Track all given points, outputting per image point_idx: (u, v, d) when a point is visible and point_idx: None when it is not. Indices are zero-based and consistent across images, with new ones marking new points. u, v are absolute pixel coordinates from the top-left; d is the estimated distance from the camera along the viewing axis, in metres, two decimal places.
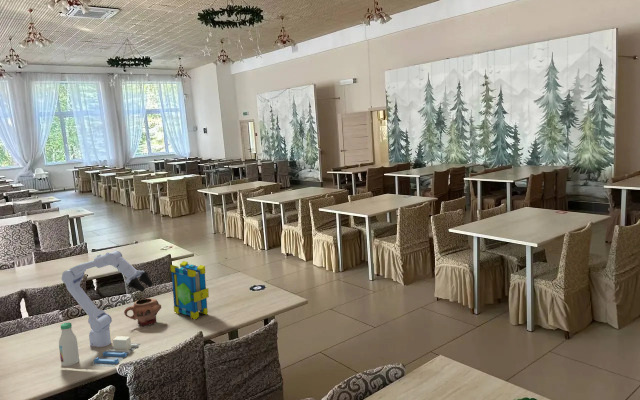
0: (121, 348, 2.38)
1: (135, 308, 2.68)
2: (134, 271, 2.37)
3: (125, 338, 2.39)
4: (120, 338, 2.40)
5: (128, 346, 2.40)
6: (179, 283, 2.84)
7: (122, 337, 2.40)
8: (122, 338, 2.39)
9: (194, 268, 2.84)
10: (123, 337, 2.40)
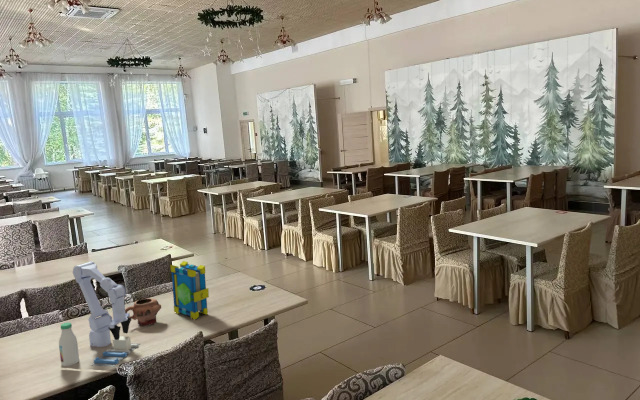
0: (121, 348, 2.38)
1: (135, 308, 2.68)
2: (123, 318, 2.37)
3: (125, 338, 2.39)
4: (120, 338, 2.40)
5: (128, 346, 2.40)
6: (179, 283, 2.84)
7: (122, 337, 2.40)
8: (122, 338, 2.39)
9: (194, 268, 2.84)
10: (123, 337, 2.40)
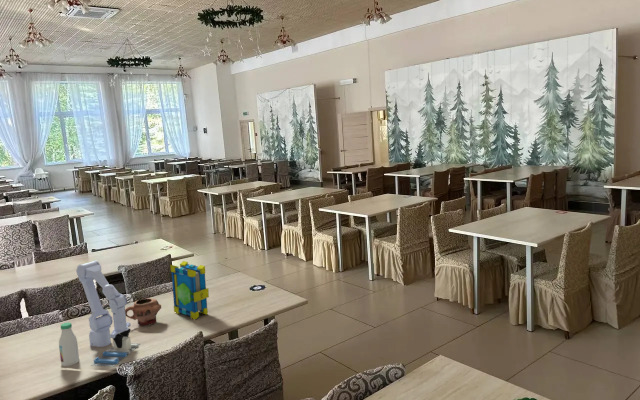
0: (121, 348, 2.38)
1: (135, 308, 2.68)
2: (124, 327, 2.37)
3: (125, 338, 2.39)
4: None
5: (128, 346, 2.40)
6: (179, 283, 2.84)
7: None
8: None
9: (194, 268, 2.84)
10: (123, 337, 2.40)
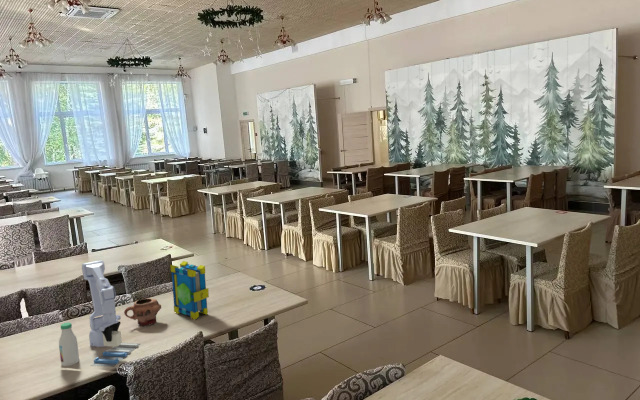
0: (111, 343, 2.30)
1: (135, 308, 2.68)
2: (113, 320, 2.29)
3: (115, 333, 2.31)
4: None
5: (119, 341, 2.31)
6: (179, 283, 2.84)
7: (112, 332, 2.32)
8: (112, 333, 2.31)
9: (194, 268, 2.84)
10: (113, 332, 2.32)
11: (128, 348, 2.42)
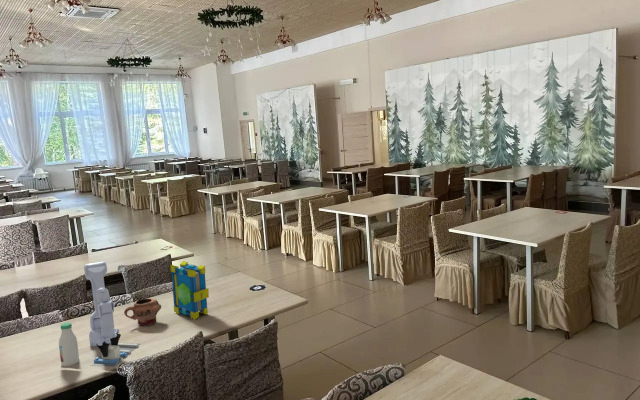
0: (110, 358, 2.29)
1: (135, 308, 2.68)
2: (111, 334, 2.27)
3: (114, 347, 2.29)
4: (109, 347, 2.30)
5: (117, 355, 2.30)
6: (179, 283, 2.84)
7: (111, 346, 2.31)
8: (111, 347, 2.30)
9: (194, 268, 2.84)
10: (112, 346, 2.31)
11: (128, 348, 2.42)
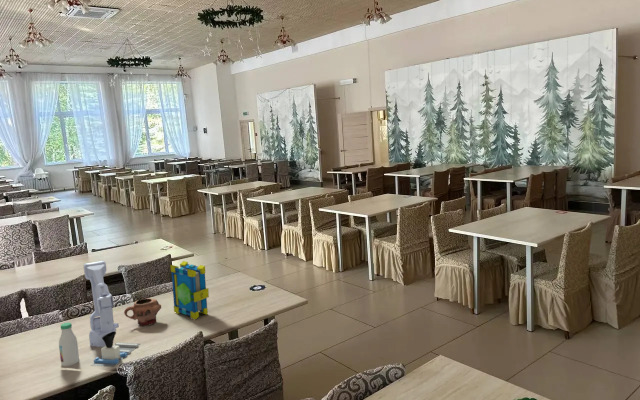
0: (110, 358, 2.29)
1: (135, 308, 2.68)
2: (111, 328, 2.27)
3: (114, 347, 2.29)
4: None
5: (117, 355, 2.30)
6: (179, 283, 2.84)
7: None
8: (111, 347, 2.30)
9: (194, 268, 2.84)
10: (112, 346, 2.31)
11: (128, 348, 2.42)
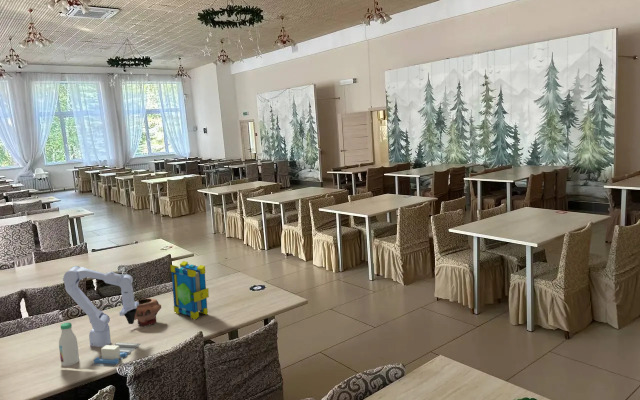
0: (110, 358, 2.29)
1: None
2: (132, 306, 2.46)
3: (114, 347, 2.29)
4: (109, 347, 2.30)
5: (117, 355, 2.30)
6: (179, 283, 2.84)
7: (111, 346, 2.31)
8: (111, 347, 2.30)
9: (194, 268, 2.84)
10: (112, 346, 2.31)
11: (128, 348, 2.42)
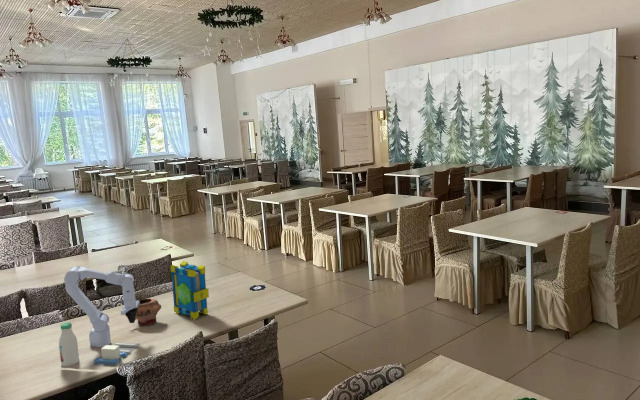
0: (110, 358, 2.29)
1: None
2: (133, 305, 2.47)
3: (114, 347, 2.29)
4: (109, 347, 2.30)
5: (117, 355, 2.30)
6: (179, 283, 2.84)
7: (111, 346, 2.31)
8: (111, 347, 2.30)
9: (194, 268, 2.84)
10: (112, 346, 2.31)
11: (128, 348, 2.42)
